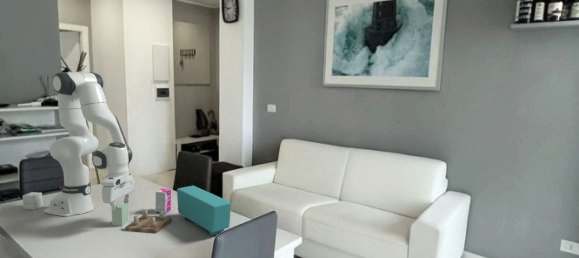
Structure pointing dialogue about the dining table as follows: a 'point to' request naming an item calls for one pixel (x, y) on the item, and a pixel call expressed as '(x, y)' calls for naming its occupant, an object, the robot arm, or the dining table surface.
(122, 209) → the sage block
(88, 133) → the robot arm
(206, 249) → the dining table surface
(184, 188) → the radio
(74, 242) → the dining table surface
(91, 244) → the dining table surface
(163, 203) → the supplement box
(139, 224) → the peg board
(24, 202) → the skincare box
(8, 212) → the dining table surface
